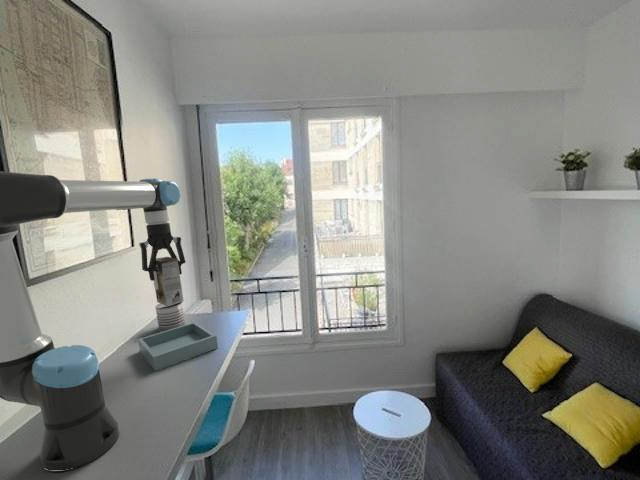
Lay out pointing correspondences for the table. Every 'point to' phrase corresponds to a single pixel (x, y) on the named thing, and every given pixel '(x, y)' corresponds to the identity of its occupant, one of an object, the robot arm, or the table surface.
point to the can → (170, 316)
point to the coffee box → (168, 281)
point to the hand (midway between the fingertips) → (167, 286)
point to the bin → (176, 345)
